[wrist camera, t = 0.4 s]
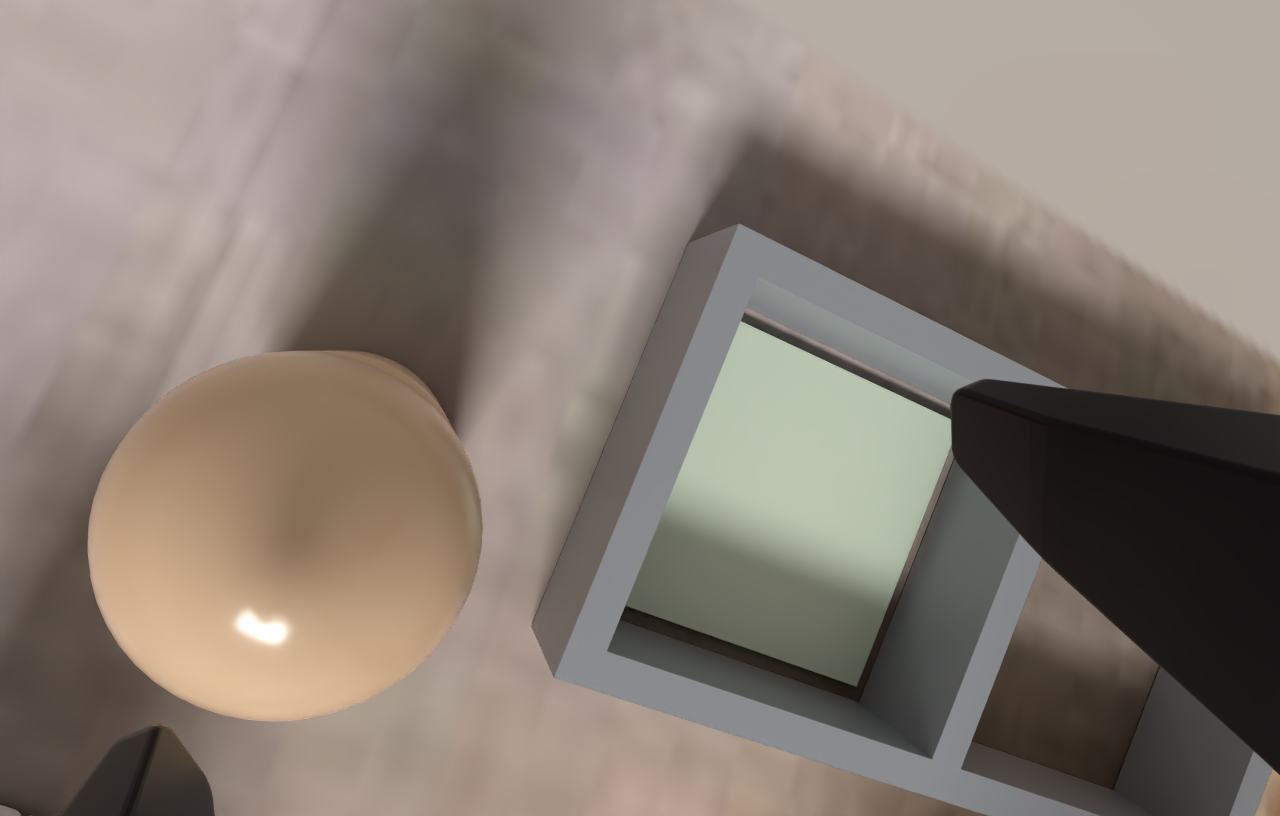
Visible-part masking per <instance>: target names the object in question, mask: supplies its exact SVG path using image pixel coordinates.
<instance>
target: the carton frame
mask: <svg viewBox="0 0 1280 816" xmlns="http://www.w3.org/2000/svg"><path fill="white" fill-rule="evenodd" d="M746 308H748V309H750V310H753V311H755V312H757V313H759V314H761V315H763V316H765V317H767V318H769V319H772V320H774V321H776V322H778V323H780V324H782V325H784V326H786V327H788V328H791V329H793V330H795V331H797V332H799V333H801V334H803V335H805V336H807V337H810V338H812V339H814V340H816V341H818V342H820V343H822V344H824V345H826V346H829V347H831V348H833V349H835V350H837V351H839V352H841V353H843V354H845V355H848V356H850V357H852V358H854V359H856V360H858V361H860V362H862V363H865V364H867V365H869V366H871V367H873V368H875V369H877V370H879V371H881V372H884V373H886V374H888V375H890V376H892V377H894V378H896V379H898V380H900V381H903V382H905V383H907V384H909V385H911V386H913V387H915V388H917V389H919V390H922V391H924V392H926V393H928V394H930V395H932V396H934V397H936V398H938V399H941V400H943V401H945V402H947V403H949V404H950V403H951V398H952V395H953V393H954V392H955V391H956V390H957V389H959V388H961V387H964V386H966V385H968V384H971V383H973V382H976V381H978V380H981V379H995V380H1003V381H1011V382H1019V383H1027V384H1035V385H1043V386H1051V387H1059V388H1066V387H1064V386H1062V385H1060V384H1058V383H1056V382H1054V381H1052V380H1050V379H1048V378H1046V377H1044V376H1042V375H1040V374H1038V373H1036V372H1034V371H1032V370H1030V369H1028V368H1026V367H1024V366H1022V365H1020V364H1018V363H1016V362H1014V361H1012V360H1010V359H1008V358H1006V357H1004V356H1002V355H1000V354H998V353H996V352H994V351H992V350H990V349H988V348H986V347H984V346H982V345H980V344H979V343H977V342H975V341H973V340H971V339H969V338H967V337H965V336H963V335H961V334H959V333H957V332H955V331H953V330H951V329H949V328H947V327H945V326H943V325H941V324H939V323H937V322H935V321H933V320H931V319H929V318H927V317H925V316H923V315H921V314H919V313H917V312H915V311H913V310H911V309H909V308H907V307H905V306H903V305H901V304H899V303H897V302H895V301H893V300H891V299H889V298H887V297H885V296H883V295H881V294H879V293H877V292H875V291H873V290H871V289H869V288H867V287H865V286H863V285H861V284H859V283H857V282H855V281H853V280H851V279H849V278H847V277H845V276H843V275H841V274H839V273H837V272H835V271H833V270H831V269H829V268H827V267H825V266H823V265H821V264H819V263H817V262H815V261H813V260H811V259H809V258H807V257H805V256H803V255H801V254H799V253H797V252H795V251H793V250H791V249H789V248H787V247H785V246H783V245H781V244H779V243H777V242H775V241H773V240H771V239H769V238H767V237H765V236H763V235H761V234H759V233H757V232H756V231H754V230H752V229H750V228H748V227H746V226H744V225H742V224H740V223H738V224H736V225H733V226H731V227H728V228H725V229H723V230H720V231H718V232H715V233H712V234H710V235H707V236H705V237H702V238H699V239H697V240H694V241H691V242H689V243H688V245H687V247H686V250H685V252H684V255H683V257H682V260H681V262H680V265H679V267H678V269H677V272H676V274H675V277H674V279H673V282H672V284H671V286H670V289H669V291H668V294H667V296H666V299H665V301H664V304H663V306H662V308H661V311H660V313H659V316H658V318H657V321H656V323H655V326H654V328H653V330H652V333H651V335H650V338H649V340H648V343H647V345H646V348H645V350H644V352H643V355H642V357H641V360H640V362H639V365H638V367H637V370H636V372H635V374H634V377H633V379H632V382H631V384H630V387H629V389H628V391H627V394H626V396H625V399H624V401H623V404H622V406H621V409H620V411H619V413H618V416H617V418H616V421H615V423H614V426H613V428H612V431H611V433H610V435H609V438H608V440H607V443H606V445H605V448H604V450H603V453H602V455H601V457H600V460H599V462H598V465H597V467H596V470H595V472H594V475H593V477H592V479H591V482H590V484H589V487H588V489H587V492H586V494H585V496H584V499H583V501H582V504H581V506H580V509H579V511H578V514H577V516H576V518H575V521H574V523H573V526H572V528H571V531H570V533H569V536H568V538H567V540H566V543H565V545H564V548H563V550H562V553H561V555H560V558H559V560H558V562H557V565H556V567H555V570H554V572H553V575H552V577H551V580H550V582H549V584H548V587H547V589H546V592H545V594H544V597H543V599H542V601H541V604H540V606H539V609H538V611H537V614H536V616H535V619H534V621H533V623H532V626H531V627H532V629H533V631H534V634H535V636H536V638H537V640H538V643H539V645H540V647H541V649H542V652H543V654H544V656H545V659H546V661H547V663H548V665H549V668H550V670H551V672H552V674H553V677H554V678H556V679H560V680H563V681H566V682H569V683H572V684H575V685H578V686H582V687H585V688H588V689H591V690H594V691H597V692H600V693H604V694H607V695H610V696H613V697H616V698H619V699H622V700H626V701H629V702H632V703H635V704H638V705H641V706H644V707H648V708H651V709H654V710H657V711H660V712H663V713H666V714H670V715H673V716H676V717H679V718H682V719H685V720H688V721H692V722H695V723H698V724H701V725H704V726H707V727H710V728H714V729H717V730H720V731H723V732H726V733H729V734H733V735H736V736H739V737H742V738H745V739H748V740H751V741H755V742H758V743H761V744H764V745H767V746H770V747H773V748H777V749H780V750H783V751H786V752H789V753H792V754H795V755H799V756H802V757H805V758H808V759H811V760H814V761H817V762H821V763H824V764H827V765H830V766H833V767H836V768H839V769H843V770H846V771H849V772H852V773H855V774H858V775H861V776H865V777H868V778H871V779H874V780H877V781H880V782H883V783H887V784H890V785H893V786H896V787H899V788H902V789H905V790H909V791H912V792H915V793H918V794H921V795H924V796H928V797H931V798H934V799H937V800H940V801H943V802H946V803H950V804H953V805H956V806H959V807H962V808H965V809H968V810H972V811H975V812H978V813H981V814H984V815H987V816H1255V814H1256V811H1257V809H1258V806H1259V803H1260V801H1261V798H1262V795H1263V793H1264V790H1265V787H1266V785H1267V782H1268V779H1269V776H1270V774H1271V771H1272V767H1270V766H1269V765H1268V764H1267V763H1266V762H1265V761H1264V760H1263V759H1262V758H1261V757H1259V756H1258V755H1257V754H1256V753H1255V752H1254V751H1253V750H1252V749H1251V748H1250V747H1248V746H1247V745H1246V744H1245V743H1244V742H1243V741H1242V740H1241V739H1240V738H1239V737H1237V736H1236V735H1235V734H1234V733H1233V732H1232V731H1231V730H1230V729H1229V728H1228V727H1226V726H1225V725H1224V724H1223V723H1222V722H1221V721H1220V720H1219V719H1218V718H1217V717H1215V716H1214V715H1213V714H1212V713H1211V712H1210V711H1209V710H1208V709H1207V708H1206V707H1204V706H1203V705H1202V704H1201V703H1200V702H1199V701H1198V700H1197V699H1196V698H1195V697H1193V696H1192V695H1191V694H1190V693H1189V692H1188V691H1187V690H1186V689H1185V688H1184V687H1182V686H1181V685H1180V684H1179V683H1178V682H1177V681H1176V680H1175V679H1174V678H1173V677H1171V676H1170V675H1169V674H1168V673H1167V672H1166V671H1165V670H1164V669H1163V668H1162V667H1160V668H1159V671H1158V673H1157V676H1156V679H1155V681H1154V684H1153V687H1152V689H1151V692H1150V694H1149V697H1148V700H1147V702H1146V705H1145V708H1144V710H1143V713H1142V716H1141V718H1140V721H1139V724H1138V726H1137V729H1136V731H1135V734H1134V737H1133V739H1132V742H1131V745H1130V747H1129V750H1128V753H1127V755H1126V758H1125V760H1124V763H1123V766H1122V768H1121V771H1120V774H1119V776H1118V779H1117V782H1116V784H1115V787H1114V790H1112V789H1109V788H1106V787H1103V786H1100V785H1097V784H1094V783H1091V782H1089V781H1086V780H1083V779H1080V778H1077V777H1074V776H1071V775H1068V774H1065V773H1062V772H1060V771H1057V770H1054V769H1051V768H1048V767H1045V766H1042V765H1039V764H1036V763H1034V762H1031V761H1028V760H1025V759H1022V758H1019V757H1016V756H1013V755H1010V754H1007V753H1005V752H1002V751H999V750H996V749H993V748H990V747H987V746H984V745H981V744H978V743H976V742H973V741H972V738H973V736H974V733H975V731H976V728H977V725H978V723H979V720H980V718H981V715H982V713H983V710H984V707H985V705H986V702H987V700H988V697H989V694H990V692H991V689H992V687H993V684H994V681H995V679H996V676H997V674H998V671H999V669H1000V666H1001V663H1002V661H1003V658H1004V656H1005V653H1006V650H1007V648H1008V645H1009V643H1010V640H1011V637H1012V635H1013V632H1014V630H1015V627H1016V625H1017V622H1018V619H1019V617H1020V614H1021V612H1022V609H1023V606H1024V604H1025V601H1026V599H1027V596H1028V593H1029V591H1030V588H1031V586H1032V583H1033V581H1034V578H1035V575H1036V573H1037V570H1038V568H1039V565H1040V562H1041V560H1042V558H1041V557H1040V556H1039V554H1038V553H1037V552H1036V551H1035V550H1034V549H1033V548H1032V547H1031V546H1030V545H1029V544H1028V543H1027V542H1026V541H1025V540H1024V539H1023V537H1022V536H1021V535H1020V534H1019V533H1018V532H1017V531H1016V530H1015V528H1014V527H1013V526H1012V525H1011V524H1010V523H1009V522H1008V521H1007V520H1006V518H1005V517H1004V516H1003V515H1002V514H1001V513H1000V512H999V511H998V509H997V508H996V507H995V506H994V505H993V504H992V503H991V502H990V501H989V499H988V498H987V497H986V496H985V495H984V494H983V493H982V492H981V491H980V489H979V488H978V487H977V486H976V485H975V484H974V483H973V482H972V480H971V479H970V478H969V477H968V476H967V475H966V474H965V473H964V472H963V470H962V469H961V468H960V467H959V465H958V464H957V462H956V460H955V459H954V461H953V464H952V466H951V469H950V472H949V474H948V477H947V479H946V482H945V484H944V487H943V489H942V492H941V495H940V497H939V500H938V502H937V505H936V507H935V510H934V512H933V515H932V517H931V520H930V523H929V525H928V528H927V530H926V533H925V535H924V538H923V540H922V543H921V545H920V548H919V551H918V553H917V556H916V558H915V561H914V563H913V566H912V568H911V571H910V574H909V576H908V579H907V581H906V584H905V586H904V589H903V591H902V594H901V596H900V599H899V602H898V604H897V607H896V609H895V612H894V614H893V617H892V619H891V622H890V624H889V627H888V630H887V632H886V635H885V637H884V640H883V642H882V645H881V647H880V650H879V653H878V655H877V658H876V660H875V663H874V665H873V668H872V670H871V673H870V675H869V678H868V681H867V683H866V686H865V688H864V691H863V693H862V696H861V698H860V701H859V702H857V701H854V700H851V699H848V698H845V697H842V696H839V695H836V694H834V693H831V692H828V691H825V690H822V689H819V688H816V687H813V686H810V685H807V684H805V683H802V682H799V681H796V680H793V679H790V678H787V677H784V676H781V675H779V674H776V673H773V672H770V671H767V670H764V669H761V668H758V667H755V666H752V665H750V664H747V663H744V662H741V661H738V660H735V659H732V658H729V657H726V656H723V655H721V654H718V653H715V652H712V651H709V650H706V649H703V648H700V647H697V646H694V645H692V644H689V643H686V642H683V641H680V640H677V639H674V638H671V637H668V636H666V635H663V634H660V633H657V632H654V631H651V630H648V629H645V628H642V627H639V626H637V625H634V624H631V623H628V622H625V621H622V620H620V617H621V615H622V613H623V610H624V608H625V606H628V607H631V608H633V609H636V610H639V611H642V612H645V613H648V614H651V615H653V616H656V617H659V618H662V619H665V620H668V621H671V622H673V623H676V624H679V625H682V626H685V627H688V628H691V629H693V630H696V631H699V632H702V633H705V634H708V635H710V636H713V637H716V638H719V639H722V640H725V641H728V642H730V643H733V644H736V645H739V646H742V647H745V648H748V649H750V650H753V651H756V652H759V653H762V654H765V655H768V656H770V657H773V658H776V659H779V660H782V661H785V662H787V663H790V664H793V665H796V666H799V667H802V668H805V669H807V670H810V671H813V672H816V673H819V674H822V675H825V676H827V677H830V678H833V679H836V680H839V681H842V682H845V683H847V684H850V685H853V686H856V687H857V684H858V682H859V679H860V677H861V674H862V672H863V669H864V667H865V664H866V662H867V659H868V656H869V654H870V651H871V649H872V646H873V644H874V641H875V639H876V636H877V634H878V631H879V628H880V626H881V623H882V621H883V618H884V616H885V613H886V611H887V608H888V606H889V603H890V600H891V598H892V595H893V593H894V590H895V588H896V585H897V583H898V580H899V578H900V575H901V572H902V570H903V567H904V565H905V562H906V560H907V557H908V555H909V552H910V550H911V547H912V544H913V542H914V539H915V537H916V534H917V532H918V529H919V527H920V524H921V522H922V519H923V516H924V514H925V511H926V509H927V506H928V504H929V501H930V499H931V496H932V494H933V491H934V488H935V486H936V483H937V481H938V478H939V476H940V473H941V471H942V468H943V466H944V463H945V460H946V458H947V455H948V453H949V450H950V448H951V445H952V442H951V419H949V418H947V417H945V416H943V415H940V414H938V413H936V412H934V411H932V410H930V409H928V408H925V407H923V406H921V405H919V404H917V403H915V402H913V401H910V400H908V399H906V398H904V397H902V396H900V395H898V394H895V393H893V392H891V391H889V390H887V389H885V388H883V387H880V386H878V385H876V384H874V383H872V382H870V381H868V380H865V379H863V378H861V377H859V376H857V375H855V374H853V373H851V372H848V371H846V370H844V369H842V368H840V367H838V366H836V365H833V364H831V363H829V362H827V361H825V360H823V359H821V358H818V357H816V356H814V355H812V354H810V353H808V352H806V351H803V350H801V349H799V348H797V347H795V346H793V345H791V344H788V343H786V342H784V341H782V340H780V339H778V338H776V337H773V336H771V335H769V334H767V333H765V332H763V331H761V330H758V329H756V328H754V327H752V326H750V325H748V324H746V323H744V322H741V319H742V317H743V314H744V312H745V309H746ZM1067 389H1068V388H1067Z"/></svg>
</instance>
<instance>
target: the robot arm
mask: <svg viewBox="0 0 1280 816" xmlns="http://www.w3.org/2000/svg"><path fill="white" fill-rule="evenodd" d="M950 405H951V442H952V451H953V455H954V458H955V460H956V462H957V464H958V465H959V467H960V468H961V469H962V470H963V472H964V473H965V474H966V475H967V476H968V477H969V478H970V479H971V480H972V482H973V483H974V484H975V485H976V486H977V487H978V488H979V489H980V491H981V492H982V493H983V494H984V495H985V496H986V497H987V498H988V499H989V501H990V502H991V503H992V504H993V505H994V506H995V507H996V508H997V509H998V511H999V512H1000V513H1001V514H1002V515H1003V516H1004V517H1005V518H1006V520H1007V521H1008V522H1009V523H1010V524H1011V525H1012V526H1013V527H1014V528H1015V530H1016V531H1017V532H1018V533H1019V534H1020V535H1021V536H1022V537H1023V539H1024V540H1025V541H1026V542H1027V543H1028V544H1029V545H1030V546H1031V547H1032V548H1033V549H1034V550H1035V551H1036V552H1037V553H1038V554H1039V556H1040V557H1041V558H1042V559H1044V560H1045V561H1046V562H1047V563H1048V564H1049V565H1050V566H1051V567H1052V568H1053V569H1054V570H1055V571H1056V572H1057V573H1058V574H1059V575H1060V576H1062V577H1063V578H1064V579H1065V580H1066V581H1067V582H1068V583H1069V584H1070V585H1071V586H1073V587H1074V588H1075V589H1076V590H1077V591H1078V592H1079V593H1080V594H1081V595H1082V596H1084V597H1085V598H1086V599H1087V600H1088V601H1089V602H1090V603H1091V604H1092V605H1093V606H1095V607H1096V608H1097V609H1098V610H1099V611H1100V612H1101V613H1102V614H1103V615H1104V616H1105V617H1107V618H1108V619H1109V620H1110V621H1111V622H1112V623H1113V624H1114V625H1115V626H1116V627H1118V628H1119V629H1120V630H1121V631H1122V632H1123V633H1124V634H1125V635H1126V636H1127V637H1129V638H1130V639H1131V640H1132V641H1133V642H1134V643H1135V644H1136V645H1137V646H1138V647H1140V648H1141V649H1142V650H1143V651H1144V652H1145V653H1146V654H1147V655H1148V656H1149V657H1151V658H1152V659H1153V660H1154V661H1155V662H1156V663H1157V664H1158V665H1159V666H1160V667H1162V668H1163V669H1164V670H1165V671H1166V672H1167V673H1168V674H1169V675H1170V676H1171V677H1173V678H1174V679H1175V680H1176V681H1177V682H1178V683H1179V684H1180V685H1181V686H1182V687H1184V688H1185V689H1186V690H1187V691H1188V692H1189V693H1190V694H1191V695H1192V696H1193V697H1195V698H1196V699H1197V700H1198V701H1199V702H1200V703H1201V704H1202V705H1203V706H1204V707H1206V708H1207V709H1208V710H1209V711H1210V712H1211V713H1212V714H1213V715H1214V716H1215V717H1217V718H1218V719H1219V720H1220V721H1221V722H1222V723H1223V724H1224V725H1225V726H1226V727H1228V728H1229V729H1230V730H1231V731H1232V732H1233V733H1234V734H1235V735H1236V736H1237V737H1239V738H1240V739H1241V740H1242V741H1243V742H1244V743H1245V744H1246V745H1247V746H1248V747H1250V748H1251V749H1252V750H1253V751H1254V752H1255V753H1256V754H1257V755H1258V756H1259V757H1261V758H1262V759H1263V760H1264V761H1265V762H1266V763H1267V764H1268V765H1269V766H1270V767H1272V768H1273V769H1274V770H1275V771H1276V772H1277V773H1278V774H1279V775H1280V415H1274V414H1266V413H1258V412H1250V411H1242V410H1234V409H1226V408H1218V407H1210V406H1202V405H1194V404H1186V403H1178V402H1170V401H1163V400H1155V399H1147V398H1139V397H1131V396H1123V395H1115V394H1107V393H1099V392H1091V391H1083V390H1075V389H1067V388H1059V387H1051V386H1043V385H1035V384H1027V383H1019V382H1011V381H1003V380H995V379H981V380H978V381H976V382H973V383H971V384H968V385H966V386H964V387H961V388H959V389H957V390H956V391H955V392H954V393H953V395H952V398H951V403H950ZM60 816H215V814H214V804H213V797H212V792H211V788H210V785H209V782H208V780H207V778H206V776H205V774H204V773H203V771H202V770H201V769H200V767H199V766H198V765H197V763H196V762H195V760H194V759H193V758H192V756H191V755H190V754H189V752H188V751H187V749H186V748H185V747H184V745H183V744H182V742H181V741H180V740H179V738H178V737H177V736H176V734H175V733H174V732H173V730H172V729H171V728H169V727H168V726H167V725H165V724H154V725H152V726H149V727H147V728H144V729H142V730H140V731H137V732H135V733H132V734H130V735H128V736H125V737H123V738H121V739H119V740H118V741H116V742H115V743H114V744H113V746H112V747H111V748H110V749H109V750H108V752H107V753H106V754H105V756H104V757H103V758H102V760H101V761H100V762H99V764H98V765H97V766H96V768H95V769H94V770H93V772H92V773H91V775H90V776H89V777H88V779H87V780H86V781H85V783H84V784H83V785H82V787H81V788H80V789H79V791H78V792H77V793H76V795H75V796H74V797H73V799H72V800H71V801H70V803H69V804H68V805H67V807H66V808H65V809H64V811H63V812H62V813H61V815H60Z"/></svg>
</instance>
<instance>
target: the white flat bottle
mask: <svg viewBox="0 0 1280 816" xmlns="http://www.w3.org/2000/svg"><path fill="white" fill-rule="evenodd" d="M0 816H21V814H20V813H19V812H18V811H17V810H15V809H12V808H9V807H6V806H2V805H0ZM31 816H32V815H31Z"/></svg>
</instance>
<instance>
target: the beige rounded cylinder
mask: <svg viewBox="0 0 1280 816" xmlns="http://www.w3.org/2000/svg"><path fill="white" fill-rule="evenodd" d="M482 530H483V525H482V511H481V500H480V495H479V490H478V485H477V480H476V477H475V474H474V471H473V469H472V466H471V463H470V460H469V458H468V456H467V454H466V452H465V450H464V448H463V446H462V444H461V442H460V440H459V438H458V436H457V435H456V433H455V431H454V429H453V427H452V426H451V424H450V422H449V420H448V418H447V417H446V415H445V413H444V411H443V409H442V408H441V406H440V404H439V402H438V400H437V398H436V397H435V396H434V394H433V393H432V391H431V390H430V388H429V387H428V386H427V385H426V384H425V383H424V382H423V381H422V380H421V379H420V378H419V377H418V376H417V375H416V374H414V373H413V372H412V371H411V370H409V369H408V368H406V367H405V366H403V365H401V364H400V363H398V362H396V361H394V360H391V359H389V358H387V357H384V356H381V355H378V354H374V353H369V352H364V351H352V350H330V351H283V352H270V353H264V354H258V355H253V356H247V357H244V358H240V359H237V360H234V361H231V362H227V363H224V364H221V365H219V366H216V367H214V368H212V369H210V370H208V371H205V372H203V373H201V374H199V375H197V376H194V377H192V378H191V379H189V380H188V381H186V382H184V383H183V384H181V385H179V386H178V387H176V388H175V389H173V390H171V391H170V392H169V393H167V394H166V395H165V396H164V397H162V398H161V399H160V400H159V401H158V402H156V403H155V404H154V405H153V406H151V407H150V408H149V409H148V410H147V411H146V412H145V413H144V414H143V416H142V417H141V418H140V419H139V420H138V421H137V422H136V423H135V424H134V425H133V426H132V427H131V429H130V430H129V432H128V433H127V434H126V436H125V437H124V439H123V440H122V441H121V443H120V444H119V446H118V447H117V448H116V450H115V452H114V453H113V455H112V457H111V459H110V461H109V463H108V465H107V467H106V468H105V470H104V472H103V474H102V476H101V479H100V482H99V485H98V488H97V491H96V493H95V496H94V499H93V504H92V509H91V514H90V519H89V524H88V547H87V551H88V560H89V569H90V578H91V583H92V587H93V590H94V594H95V598H96V602H97V604H98V607H99V609H100V611H101V614H102V616H103V618H104V621H105V623H106V625H107V627H108V628H109V630H110V632H111V633H112V635H113V637H114V638H115V640H116V641H117V643H118V645H119V646H120V647H121V649H122V650H123V651H124V652H125V653H126V654H127V656H128V657H129V658H130V659H131V660H132V662H133V663H134V664H135V665H136V666H137V667H138V668H139V669H140V670H142V671H143V672H144V673H145V674H146V675H147V676H148V677H149V678H151V679H152V680H153V681H154V682H155V683H157V684H158V685H160V686H161V687H163V688H164V689H166V690H167V691H169V692H170V693H172V694H173V695H175V696H177V697H179V698H181V699H183V700H185V701H187V702H189V703H191V704H193V705H195V706H198V707H200V708H203V709H206V710H209V711H212V712H215V713H218V714H221V715H226V716H231V717H236V718H240V719H246V720H258V721H295V720H301V719H308V718H314V717H320V716H324V715H327V714H331V713H334V712H338V711H341V710H344V709H347V708H349V707H352V706H354V705H357V704H359V703H361V702H364V701H366V700H368V699H370V698H372V697H373V696H375V695H377V694H379V693H381V692H382V691H384V690H386V689H388V688H390V687H391V686H393V685H394V684H396V683H397V682H398V681H400V680H401V679H403V678H404V677H405V676H407V675H408V674H410V673H411V672H412V671H413V670H414V669H415V668H416V667H417V666H419V665H420V664H421V663H422V662H423V661H424V660H425V659H426V658H427V657H428V656H429V655H430V654H431V653H432V652H433V650H434V649H435V648H436V647H437V646H438V645H439V643H440V642H441V641H442V640H443V639H444V637H445V636H446V634H447V633H448V631H449V630H450V628H451V627H452V625H453V624H454V622H455V621H456V619H457V617H458V616H459V614H460V612H461V610H462V608H463V606H464V604H465V602H466V600H467V597H468V595H469V593H470V590H471V588H472V585H473V582H474V579H475V576H476V573H477V568H478V563H479V558H480V553H481V545H482Z"/></svg>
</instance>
